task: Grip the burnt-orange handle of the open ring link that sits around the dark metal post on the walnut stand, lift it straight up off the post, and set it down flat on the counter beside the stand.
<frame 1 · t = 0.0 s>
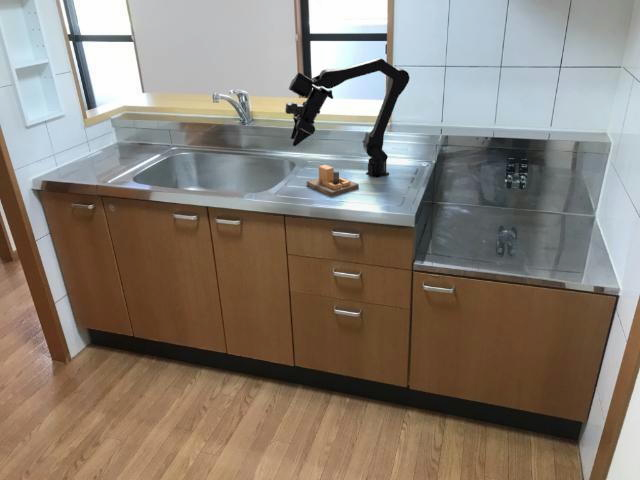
hand: (292, 142, 186), 15 cm above the table, tool tilted 35°, fingers open, 9 cm apart
ring link: (336, 184, 183), point 1 cm above the table, touching post stand
post stand: (336, 188, 183), on the table
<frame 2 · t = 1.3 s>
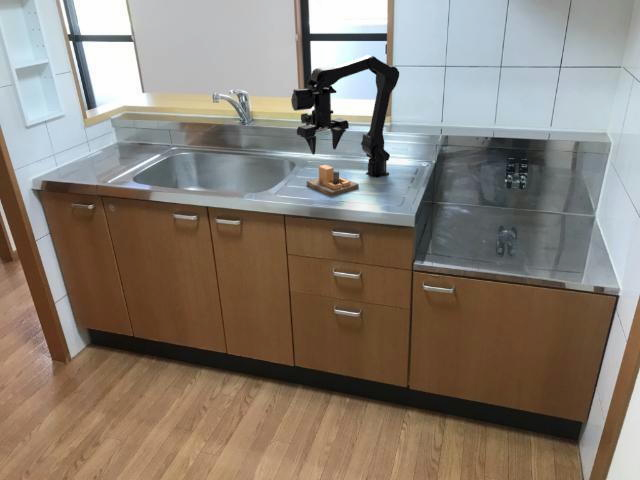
hand: (323, 151, 183), 12 cm above the table, tool pointing down, fingers open, 9 cm apart
nothing on the table moved.
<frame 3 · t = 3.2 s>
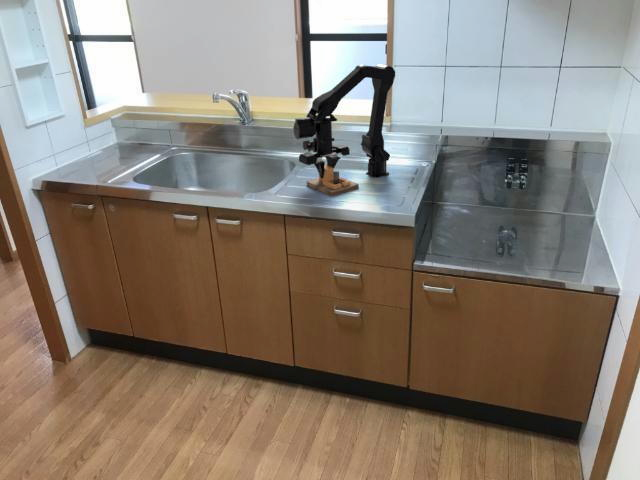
hand: (325, 177, 187), 3 cm above the table, tool pointing down, fingers closed on ring link, 3 cm apart
ring link: (336, 184, 183), point 1 cm above the table, touching gripper, post stand
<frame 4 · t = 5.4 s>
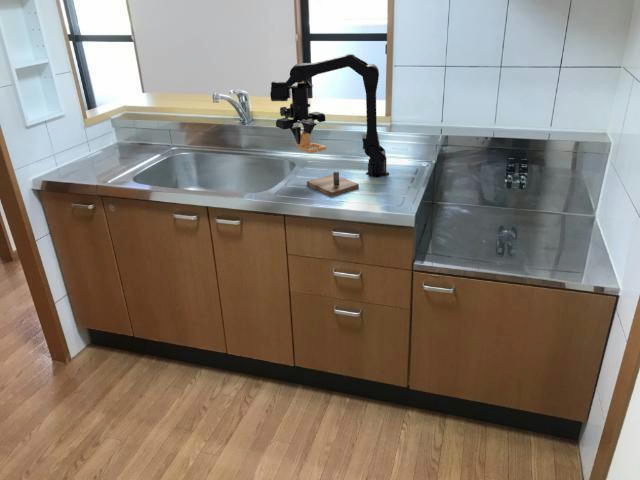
hand: (302, 143, 193), 12 cm above the table, tool pointing down, fingers closed on ring link, 3 cm apart
ring link: (312, 149, 189), point 11 cm above the table, touching gripper
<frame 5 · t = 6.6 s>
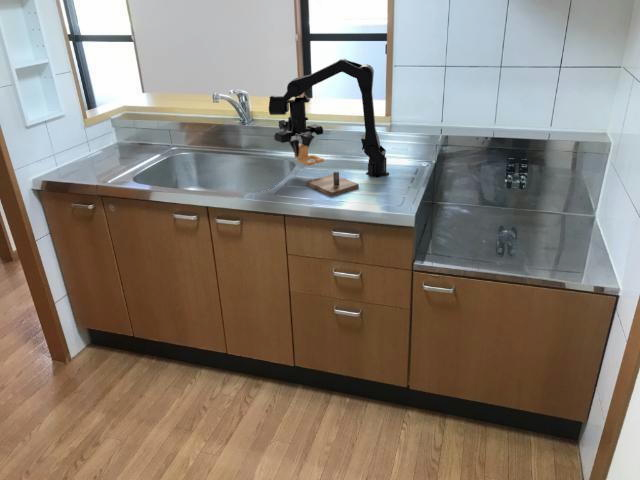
hand: (300, 155, 197), 7 cm above the table, tool pointing down, fingers closed on ring link, 3 cm apart
ring link: (310, 161, 193), point 6 cm above the table, touching gripper
when the fingers open (2 cm above the table, at t = 7.7 s): ring link drops 1 cm, on the table.
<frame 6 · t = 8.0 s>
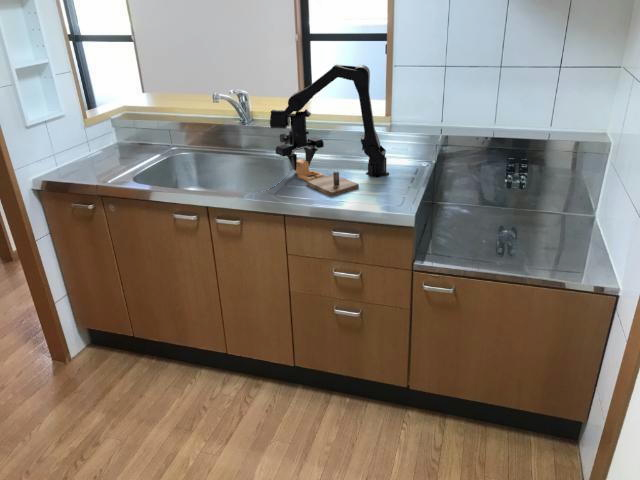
hand: (301, 168, 199), 2 cm above the table, tool pointing down, fingers open, 6 cm apart
ring link: (311, 177, 195), on the table
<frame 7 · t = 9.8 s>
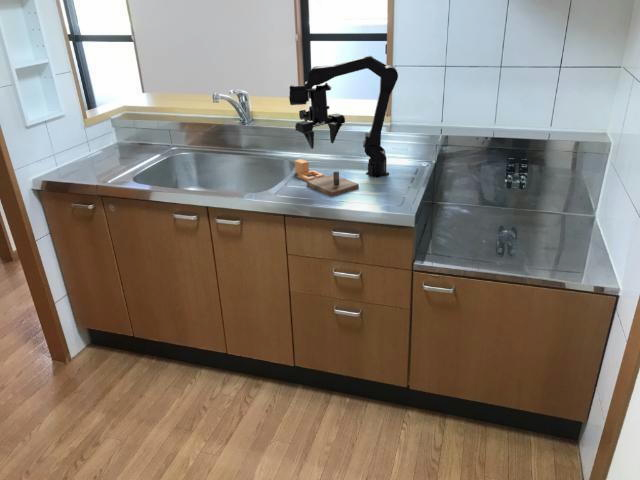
hand: (322, 145, 192), 11 cm above the table, tool pointing down, fingers open, 9 cm apart
nothing on the table moved.
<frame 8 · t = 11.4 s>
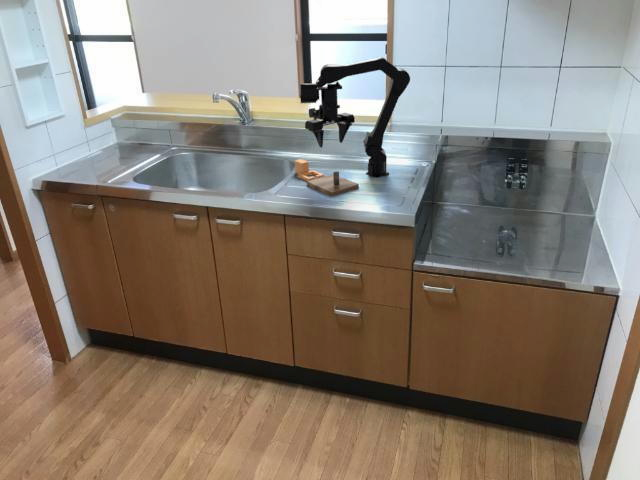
hand: (331, 144, 191), 12 cm above the table, tool pointing down, fingers open, 9 cm apart
nothing on the table moved.
at the end: ring link inside the target area (0.0 cm from its centre), on the table; ring link tilted 0°; the gripper is holding nothing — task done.
